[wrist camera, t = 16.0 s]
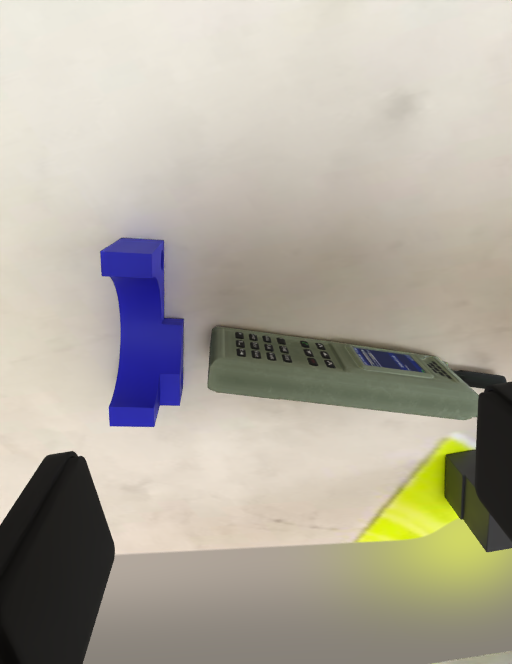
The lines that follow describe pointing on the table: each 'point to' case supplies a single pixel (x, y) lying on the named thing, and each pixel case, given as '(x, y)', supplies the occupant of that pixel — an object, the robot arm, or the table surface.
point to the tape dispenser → (471, 501)
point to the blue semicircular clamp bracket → (143, 334)
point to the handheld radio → (341, 375)
